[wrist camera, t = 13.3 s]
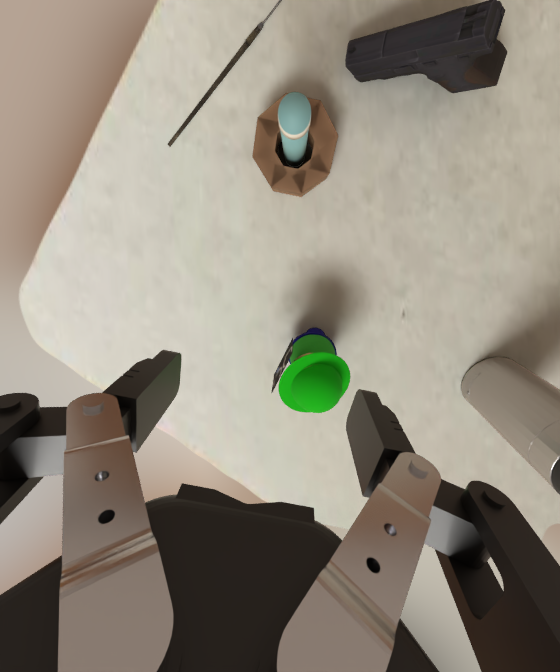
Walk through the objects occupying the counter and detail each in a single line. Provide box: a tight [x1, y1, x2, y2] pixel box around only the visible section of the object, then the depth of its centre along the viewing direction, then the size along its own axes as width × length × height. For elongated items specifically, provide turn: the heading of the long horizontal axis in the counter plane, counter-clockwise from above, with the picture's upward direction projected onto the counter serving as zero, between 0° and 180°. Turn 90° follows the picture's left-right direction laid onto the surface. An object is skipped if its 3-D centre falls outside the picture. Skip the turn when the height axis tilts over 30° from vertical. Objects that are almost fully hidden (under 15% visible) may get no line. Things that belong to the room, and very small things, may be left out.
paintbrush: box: [168, 0, 282, 146], centre depth 32 cm, size 1×25×1 cm, turn 132°
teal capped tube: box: [278, 92, 311, 167], centre depth 28 cm, size 3×3×14 cm
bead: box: [253, 93, 338, 197], centre depth 33 cm, size 9×9×4 cm
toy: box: [272, 328, 350, 413], centre depth 37 cm, size 9×9×15 cm
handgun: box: [345, 0, 507, 93], centre depth 29 cm, size 3×14×10 cm
